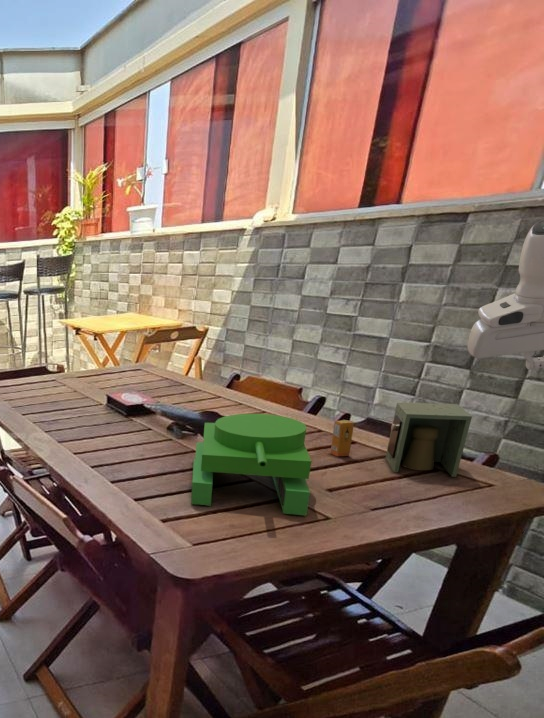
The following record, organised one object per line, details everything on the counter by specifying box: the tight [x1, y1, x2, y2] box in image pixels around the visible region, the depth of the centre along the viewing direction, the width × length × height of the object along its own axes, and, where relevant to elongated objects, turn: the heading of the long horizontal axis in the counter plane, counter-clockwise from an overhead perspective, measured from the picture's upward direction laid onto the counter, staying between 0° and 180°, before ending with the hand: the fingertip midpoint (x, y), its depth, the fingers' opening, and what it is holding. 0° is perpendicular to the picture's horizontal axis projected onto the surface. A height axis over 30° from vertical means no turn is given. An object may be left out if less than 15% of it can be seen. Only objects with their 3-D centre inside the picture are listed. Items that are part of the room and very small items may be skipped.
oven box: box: [385, 402, 473, 478], centre depth 126 cm, size 13×11×16 cm
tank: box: [190, 413, 312, 517], centre depth 124 cm, size 24×35×16 cm
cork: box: [401, 425, 439, 471], centre depth 127 cm, size 6×6×11 cm
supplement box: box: [330, 419, 355, 458], centre depth 139 cm, size 3×4×10 cm
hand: (537, 367), depth 99 cm, fingers closed
